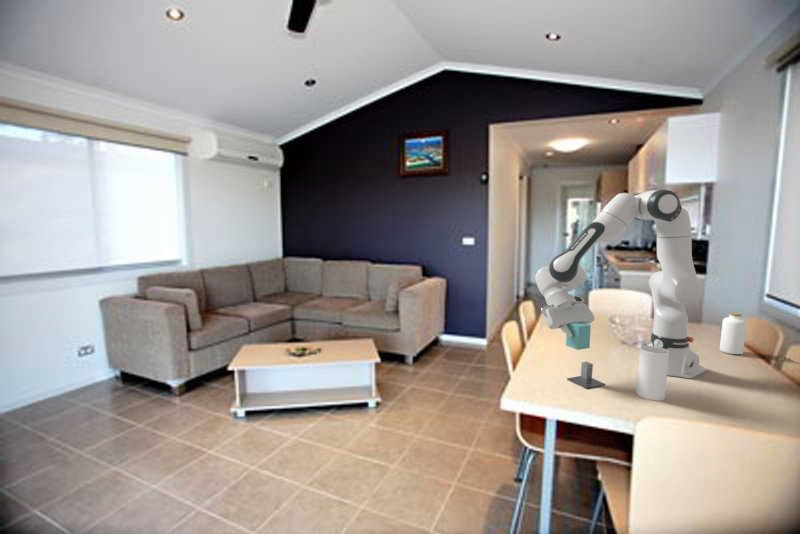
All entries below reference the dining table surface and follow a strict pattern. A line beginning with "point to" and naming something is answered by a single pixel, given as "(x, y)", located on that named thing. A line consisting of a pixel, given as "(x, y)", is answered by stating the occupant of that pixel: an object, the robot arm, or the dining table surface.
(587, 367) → the post
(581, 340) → the teal rectangular block
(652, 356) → the cup
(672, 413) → the dining table surface
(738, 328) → the potion bottle
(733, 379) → the dining table surface
